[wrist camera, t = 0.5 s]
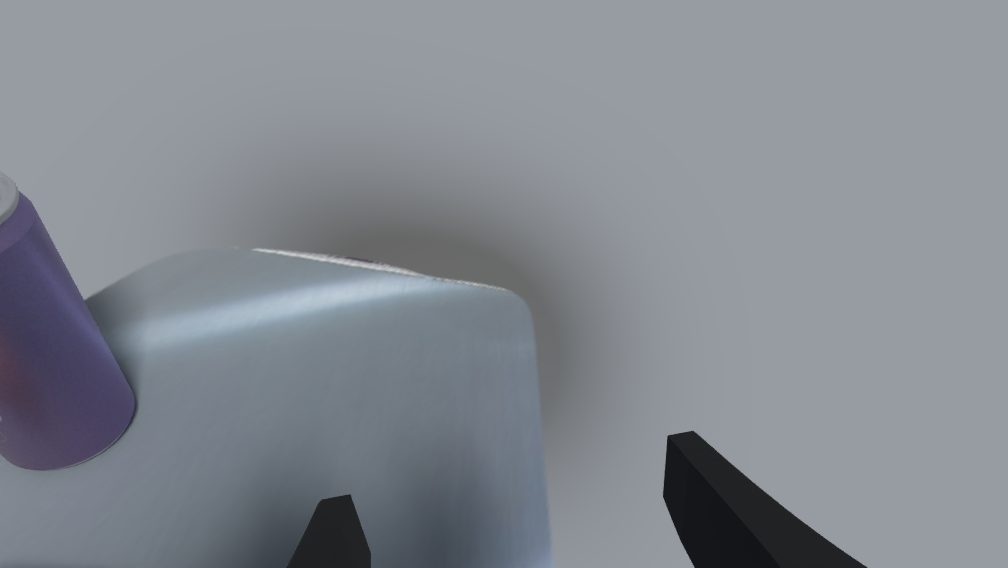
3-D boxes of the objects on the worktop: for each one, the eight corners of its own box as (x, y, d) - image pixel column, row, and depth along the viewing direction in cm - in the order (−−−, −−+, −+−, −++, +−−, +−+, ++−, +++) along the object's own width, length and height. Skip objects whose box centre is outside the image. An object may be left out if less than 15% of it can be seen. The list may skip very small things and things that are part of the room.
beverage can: (163, 400, 31) (62, 186, 21) (74, 493, 26) (-110, 278, 16) (75, 368, 31) (-66, 143, 21) (-26, 453, 27) (-265, 221, 17)
